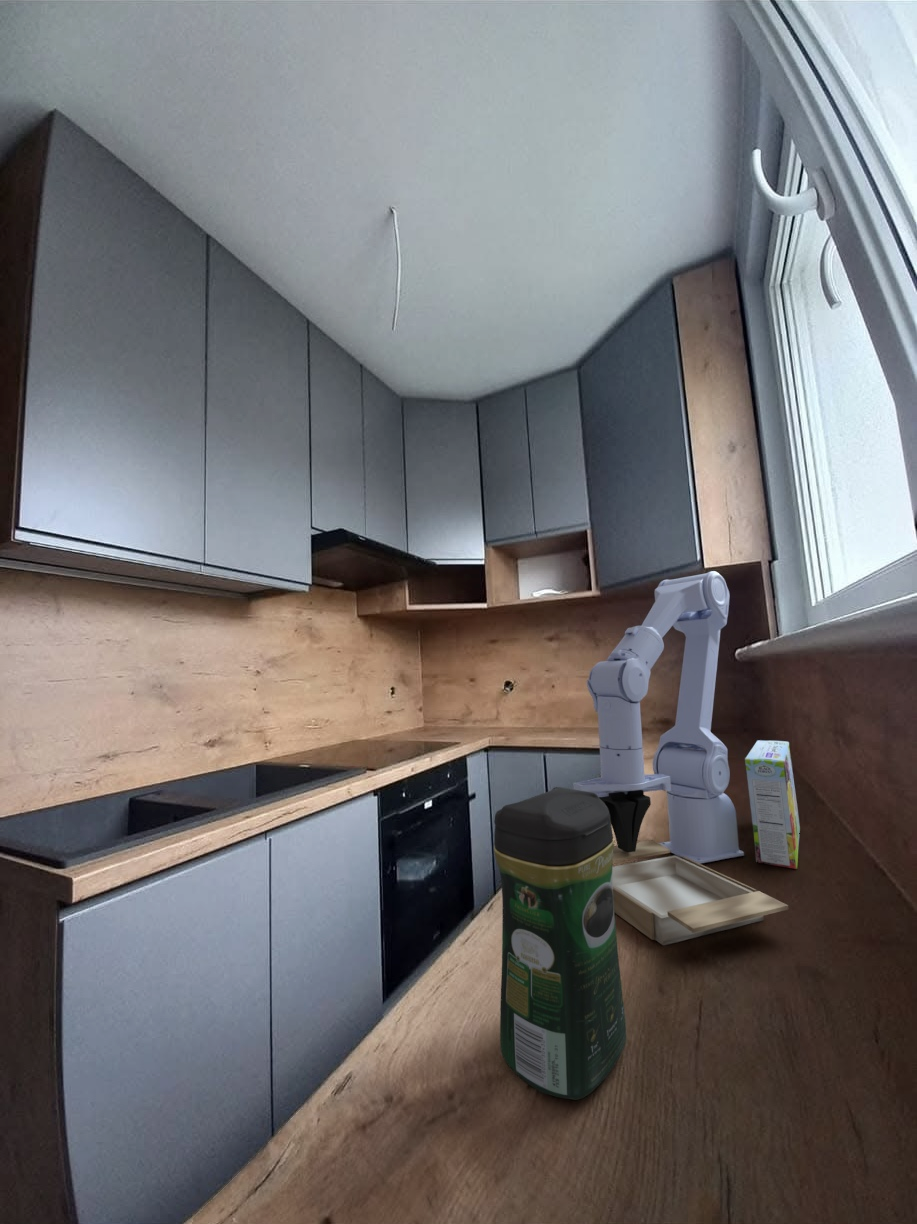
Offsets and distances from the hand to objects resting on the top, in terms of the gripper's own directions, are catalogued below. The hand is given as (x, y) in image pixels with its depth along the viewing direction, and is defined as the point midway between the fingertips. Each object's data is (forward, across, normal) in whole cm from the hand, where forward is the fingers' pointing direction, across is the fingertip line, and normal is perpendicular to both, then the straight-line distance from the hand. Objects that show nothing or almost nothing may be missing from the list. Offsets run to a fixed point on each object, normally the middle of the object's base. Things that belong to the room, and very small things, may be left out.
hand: (626, 849), depth 66 cm
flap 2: (+1, 0, +14) cm, 14 cm away
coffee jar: (+4, +24, +23) cm, 33 cm away
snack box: (+4, -31, -3) cm, 31 cm away
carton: (+4, 0, +8) cm, 9 cm away
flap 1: (+1, 0, +1) cm, 2 cm away
